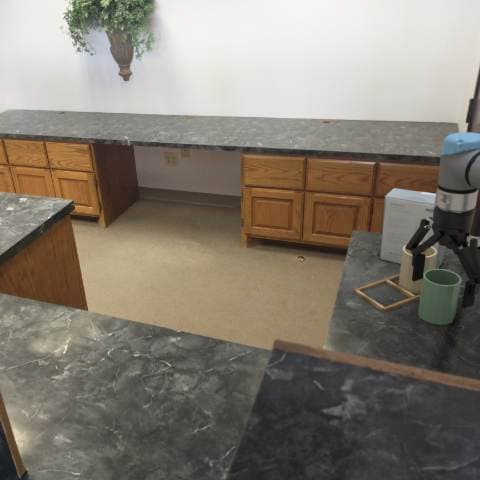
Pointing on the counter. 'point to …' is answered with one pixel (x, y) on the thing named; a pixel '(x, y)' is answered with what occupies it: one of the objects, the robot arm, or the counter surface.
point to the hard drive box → (406, 222)
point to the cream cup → (407, 269)
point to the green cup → (439, 296)
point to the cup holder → (395, 286)
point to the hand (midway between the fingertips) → (441, 292)
